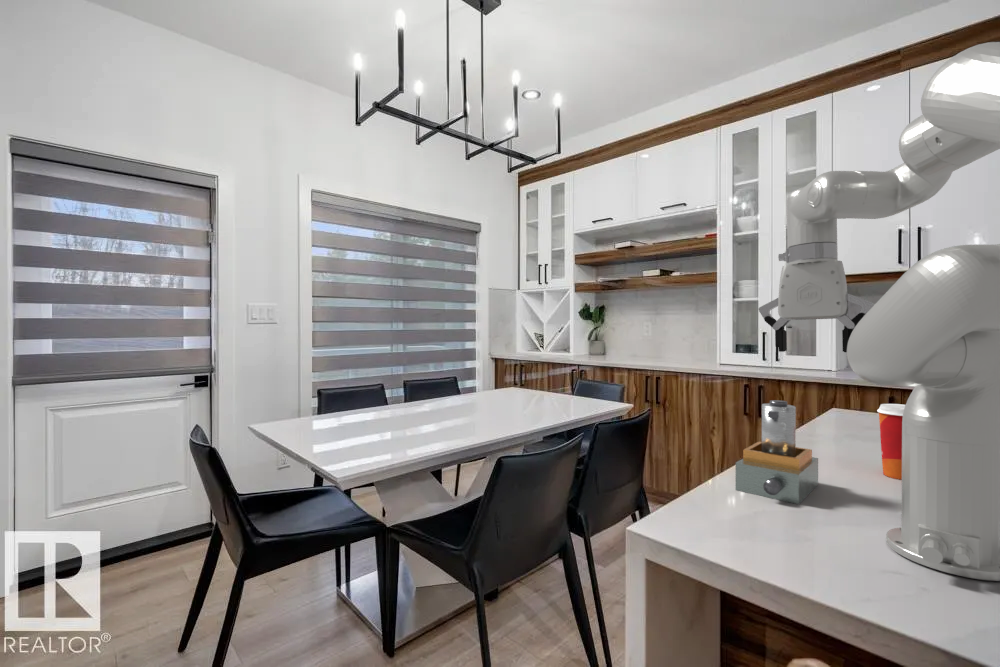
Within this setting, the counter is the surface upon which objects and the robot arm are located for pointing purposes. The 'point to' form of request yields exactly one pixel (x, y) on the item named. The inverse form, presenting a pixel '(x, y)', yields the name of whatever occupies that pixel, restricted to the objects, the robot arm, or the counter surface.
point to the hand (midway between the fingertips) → (813, 351)
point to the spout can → (779, 428)
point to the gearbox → (777, 474)
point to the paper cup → (891, 439)
